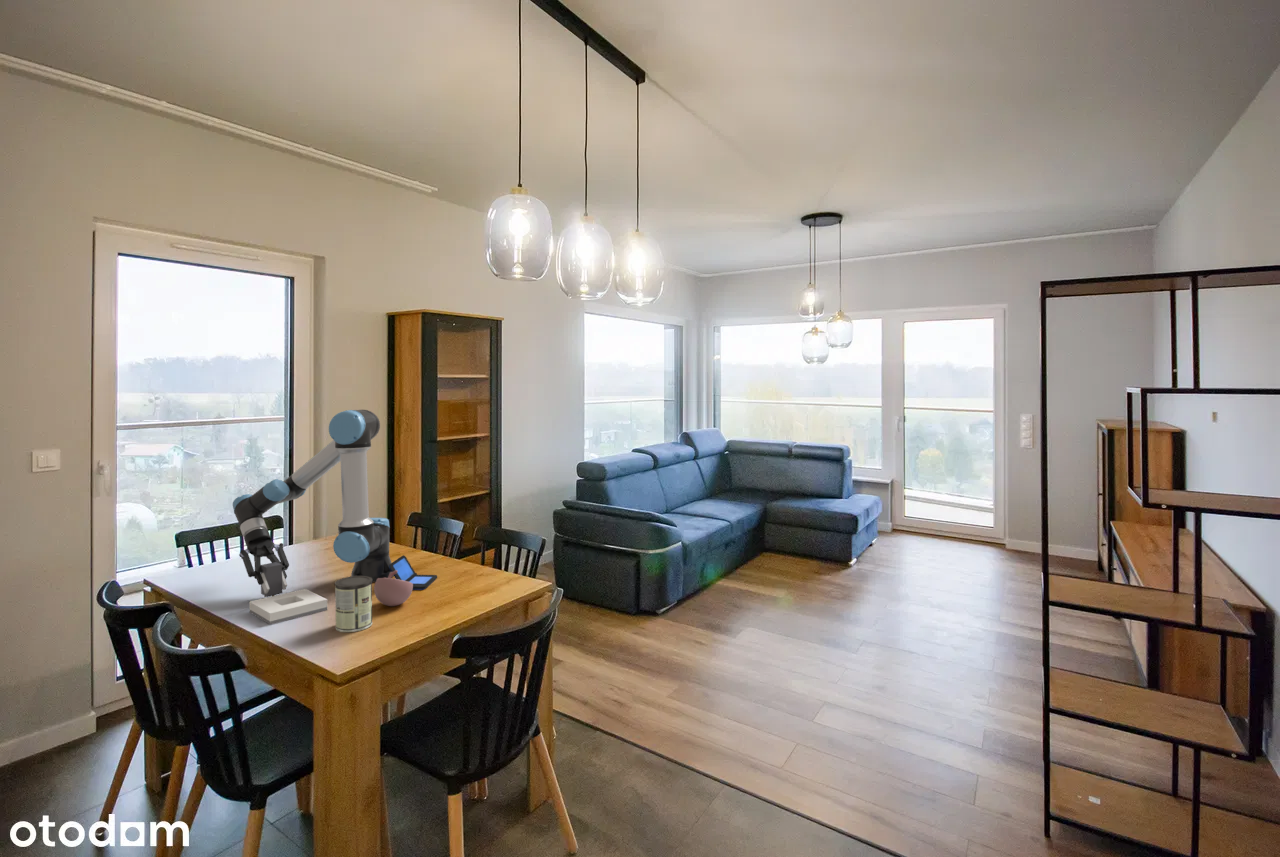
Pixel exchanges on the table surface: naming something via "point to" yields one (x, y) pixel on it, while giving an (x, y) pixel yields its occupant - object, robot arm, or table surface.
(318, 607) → the socket
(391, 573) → the mortar and pestle
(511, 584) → the table surface
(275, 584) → the plug
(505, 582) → the table surface
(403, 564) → the handheld game console
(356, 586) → the coffee can
